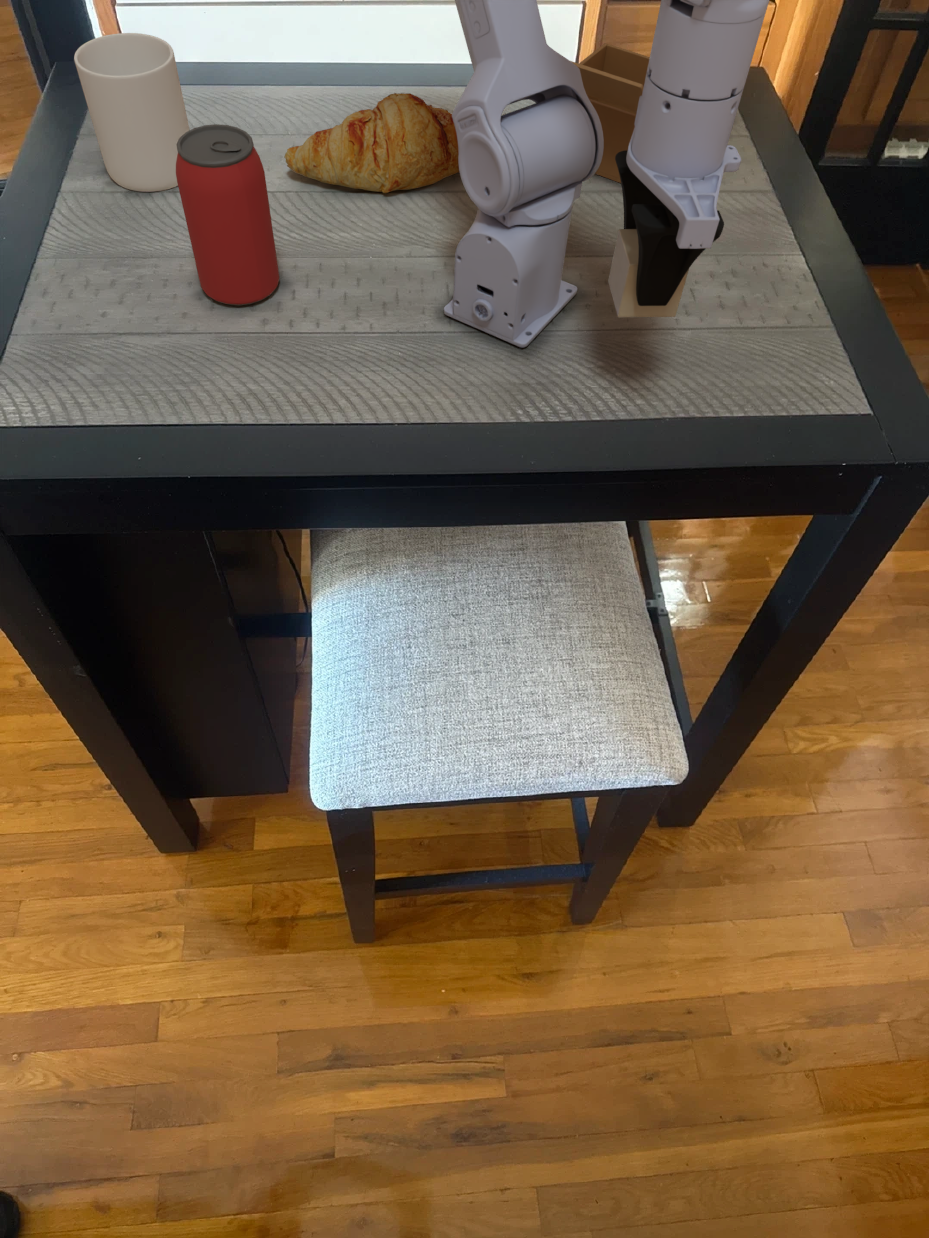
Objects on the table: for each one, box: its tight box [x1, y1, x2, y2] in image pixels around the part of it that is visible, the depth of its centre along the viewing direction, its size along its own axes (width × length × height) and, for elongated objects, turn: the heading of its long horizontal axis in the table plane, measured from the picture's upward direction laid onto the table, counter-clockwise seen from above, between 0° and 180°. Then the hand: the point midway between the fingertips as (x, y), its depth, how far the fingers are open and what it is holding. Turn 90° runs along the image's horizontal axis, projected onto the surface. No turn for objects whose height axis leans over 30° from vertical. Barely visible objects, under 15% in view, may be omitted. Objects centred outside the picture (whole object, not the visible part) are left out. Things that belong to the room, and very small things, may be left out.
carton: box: [578, 42, 650, 184], centre depth 89 cm, size 12×11×6 cm
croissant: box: [284, 92, 460, 194], centre depth 84 cm, size 21×10×8 cm, turn 105°
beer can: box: [176, 123, 280, 306], centre depth 70 cm, size 7×7×12 cm
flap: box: [570, 60, 643, 112], centre depth 80 cm, size 6×11×1 cm
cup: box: [73, 32, 191, 193], centre depth 82 cm, size 8×12×10 cm
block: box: [607, 228, 690, 318], centre depth 63 cm, size 4×4×4 cm
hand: (645, 282), depth 63 cm, fingers closed on block, 4 cm apart
